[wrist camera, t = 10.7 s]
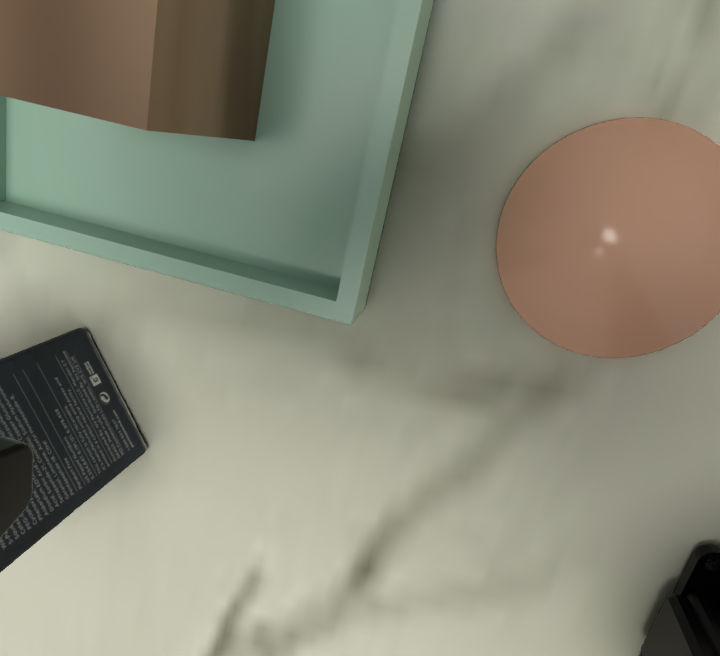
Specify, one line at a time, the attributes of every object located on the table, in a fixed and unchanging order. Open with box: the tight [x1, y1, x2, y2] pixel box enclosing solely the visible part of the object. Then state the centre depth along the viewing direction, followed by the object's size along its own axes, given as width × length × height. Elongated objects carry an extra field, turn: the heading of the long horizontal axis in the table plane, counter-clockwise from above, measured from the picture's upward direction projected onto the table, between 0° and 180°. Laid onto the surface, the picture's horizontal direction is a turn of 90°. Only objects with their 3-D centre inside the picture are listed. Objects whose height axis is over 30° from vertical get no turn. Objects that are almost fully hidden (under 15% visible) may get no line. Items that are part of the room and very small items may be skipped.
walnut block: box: [0, 0, 275, 141], centre depth 14 cm, size 5×5×6 cm
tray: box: [0, 0, 434, 325], centre depth 16 cm, size 14×14×2 cm
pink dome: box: [496, 118, 720, 358], centre depth 17 cm, size 7×7×1 cm
